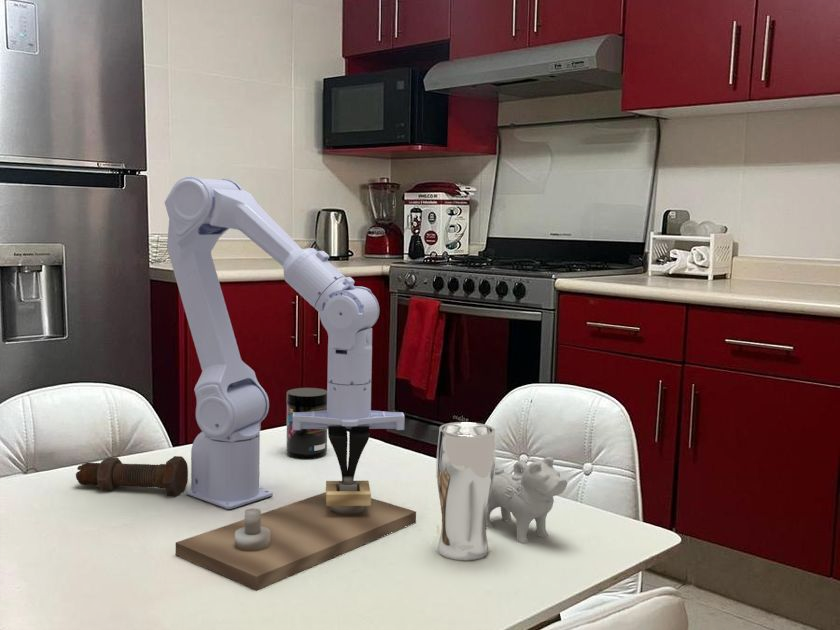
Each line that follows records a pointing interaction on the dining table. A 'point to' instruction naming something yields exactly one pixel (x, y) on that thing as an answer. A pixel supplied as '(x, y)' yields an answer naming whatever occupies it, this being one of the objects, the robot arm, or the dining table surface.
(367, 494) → the square wooden ring
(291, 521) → the board
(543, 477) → the dog figurine
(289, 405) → the supplement container
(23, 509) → the dining table surface
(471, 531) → the beer glass
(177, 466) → the bolt
